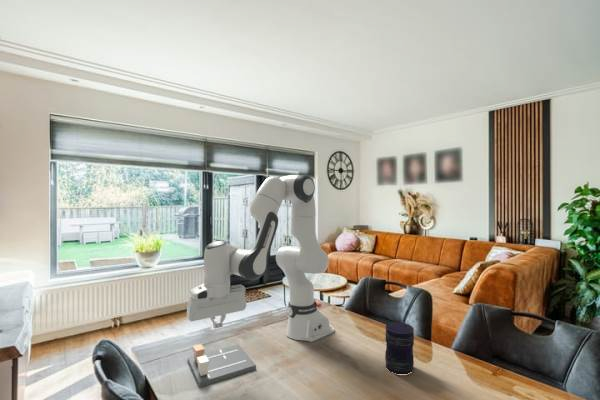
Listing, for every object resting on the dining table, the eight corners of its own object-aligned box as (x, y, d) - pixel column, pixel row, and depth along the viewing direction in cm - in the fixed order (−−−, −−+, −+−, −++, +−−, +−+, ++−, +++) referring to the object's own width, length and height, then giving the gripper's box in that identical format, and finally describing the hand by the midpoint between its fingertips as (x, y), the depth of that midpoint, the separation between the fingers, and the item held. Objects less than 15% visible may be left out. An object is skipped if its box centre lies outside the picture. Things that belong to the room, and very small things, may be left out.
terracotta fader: (201, 355, 118) (201, 343, 118) (204, 361, 114) (204, 348, 114) (193, 358, 117) (193, 345, 117) (195, 363, 113) (195, 351, 113)
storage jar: (399, 379, 107) (399, 335, 107) (379, 364, 116) (379, 324, 116) (419, 371, 112) (420, 330, 111) (399, 358, 121) (399, 319, 120)
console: (238, 347, 128) (238, 343, 128) (255, 369, 113) (255, 364, 113) (187, 361, 118) (187, 357, 118) (199, 387, 103) (199, 382, 103)
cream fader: (205, 367, 110) (205, 355, 110) (209, 374, 106) (209, 360, 106) (197, 370, 109) (196, 357, 109) (200, 376, 105) (200, 363, 105)
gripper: (242, 281, 117) (242, 317, 118) (185, 290, 107) (186, 330, 107) (248, 285, 112) (249, 323, 113) (189, 296, 102) (190, 338, 102)
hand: (217, 327), depth 110 cm, fingers closed
